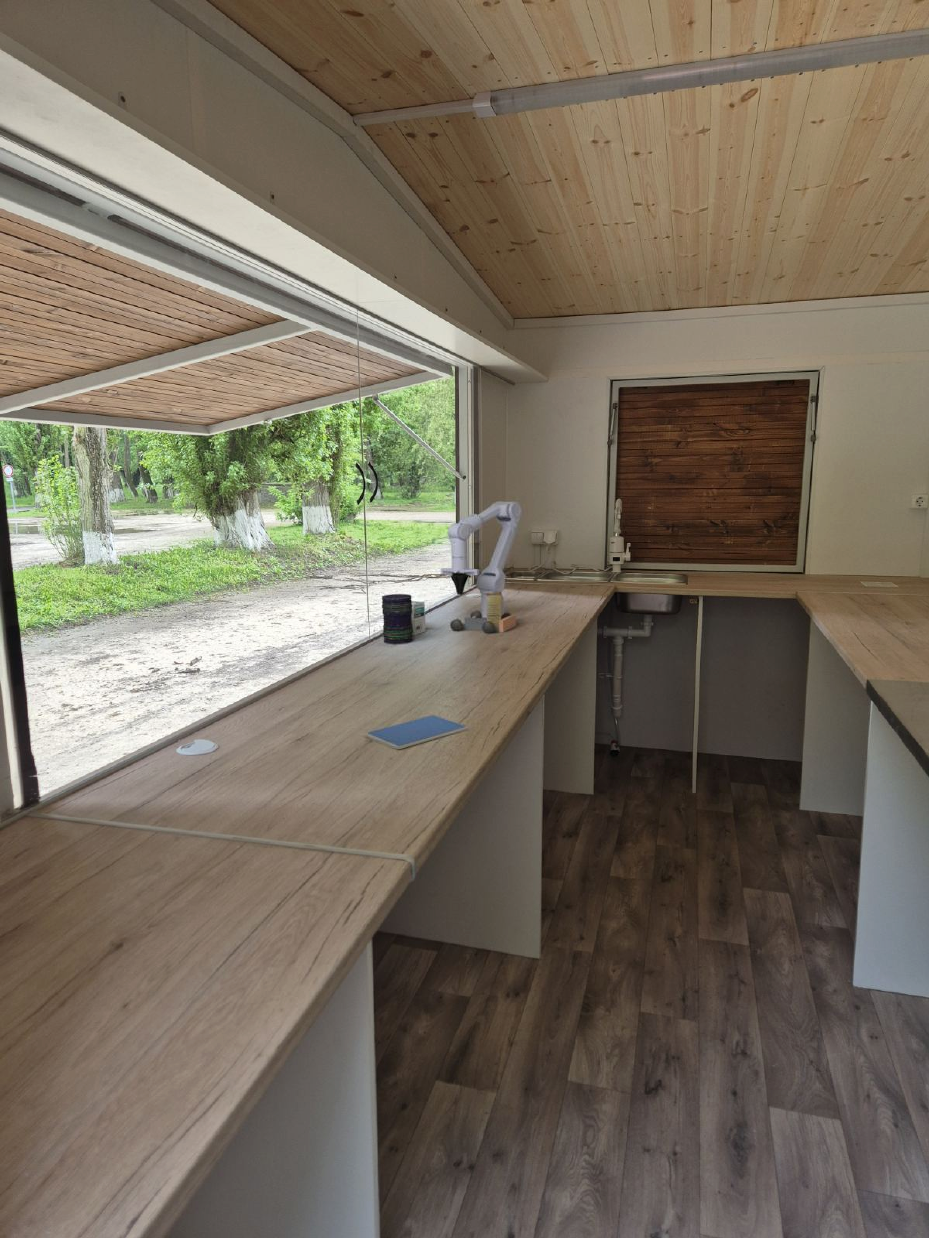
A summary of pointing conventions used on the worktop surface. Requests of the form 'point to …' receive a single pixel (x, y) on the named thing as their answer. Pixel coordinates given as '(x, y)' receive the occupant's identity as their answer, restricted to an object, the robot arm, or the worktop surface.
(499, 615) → the shoe polish box
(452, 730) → the tablet computer
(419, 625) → the light bulb box
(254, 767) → the worktop surface
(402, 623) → the storage jar
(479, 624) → the chassis
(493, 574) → the robot arm
